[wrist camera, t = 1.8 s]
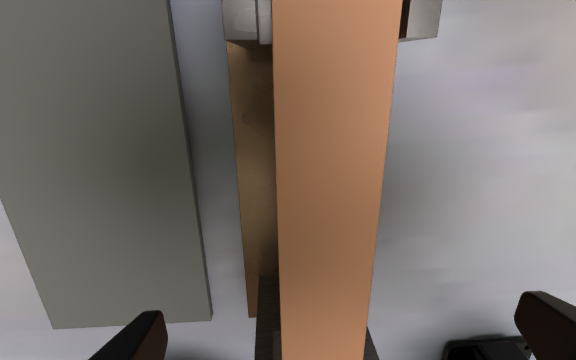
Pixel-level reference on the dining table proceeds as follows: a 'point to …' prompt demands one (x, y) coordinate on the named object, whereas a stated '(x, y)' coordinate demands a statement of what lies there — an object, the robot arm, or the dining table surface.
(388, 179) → the dining table surface
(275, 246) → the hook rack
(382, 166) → the rail
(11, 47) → the mat
